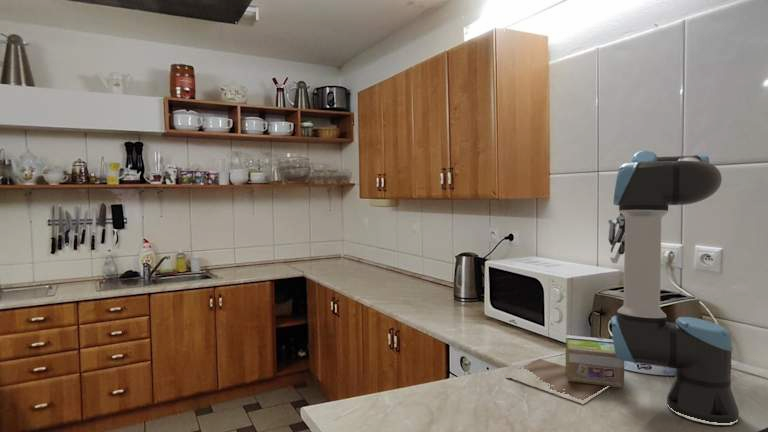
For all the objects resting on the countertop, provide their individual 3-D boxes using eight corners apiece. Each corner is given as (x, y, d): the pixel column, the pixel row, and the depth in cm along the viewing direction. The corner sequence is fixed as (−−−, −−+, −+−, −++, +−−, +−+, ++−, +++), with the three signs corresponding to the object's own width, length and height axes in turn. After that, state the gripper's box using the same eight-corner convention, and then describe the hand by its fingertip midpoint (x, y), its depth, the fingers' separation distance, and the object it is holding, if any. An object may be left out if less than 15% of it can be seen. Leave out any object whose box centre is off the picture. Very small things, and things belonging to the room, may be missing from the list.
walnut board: (613, 384, 135) (614, 380, 135) (582, 404, 122) (583, 400, 122) (539, 362, 153) (539, 358, 153) (506, 377, 141) (506, 373, 141)
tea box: (617, 338, 142) (626, 354, 128) (616, 370, 143) (625, 389, 129) (565, 333, 147) (568, 349, 133) (564, 364, 147) (567, 383, 133)
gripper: (658, 215, 157) (637, 270, 147) (618, 214, 167) (597, 265, 157) (652, 200, 154) (631, 255, 144) (612, 200, 164) (590, 251, 154)
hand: (613, 260), depth 150 cm, fingers closed
